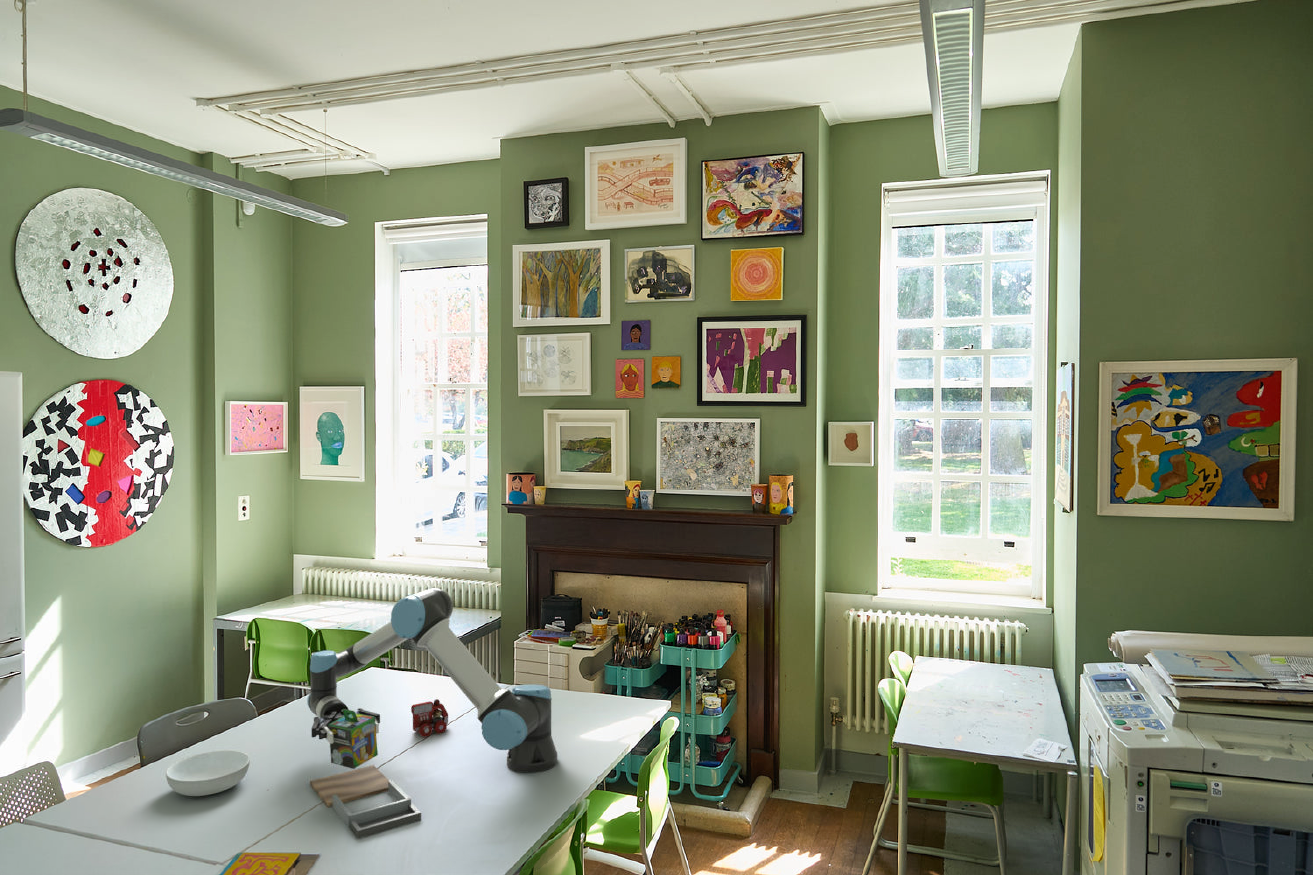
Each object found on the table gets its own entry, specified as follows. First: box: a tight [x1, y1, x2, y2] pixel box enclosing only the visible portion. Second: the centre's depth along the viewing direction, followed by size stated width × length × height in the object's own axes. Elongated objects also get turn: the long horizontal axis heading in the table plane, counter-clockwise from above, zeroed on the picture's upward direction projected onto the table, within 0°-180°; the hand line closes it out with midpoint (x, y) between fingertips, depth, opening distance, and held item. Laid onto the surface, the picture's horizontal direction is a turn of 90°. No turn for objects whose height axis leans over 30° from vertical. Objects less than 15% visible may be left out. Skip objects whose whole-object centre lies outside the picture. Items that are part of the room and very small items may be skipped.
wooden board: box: [309, 764, 390, 808], centre depth 234 cm, size 18×18×1 cm
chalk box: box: [329, 709, 379, 770], centre depth 233 cm, size 9×9×15 cm
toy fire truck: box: [410, 698, 449, 738], centre depth 276 cm, size 7×12×10 cm, turn 128°
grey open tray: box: [331, 779, 422, 840], centre depth 218 cm, size 22×16×3 cm
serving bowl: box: [165, 750, 251, 797], centre depth 233 cm, size 21×21×7 cm
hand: (355, 733), depth 231 cm, fingers closed on chalk box, 12 cm apart
